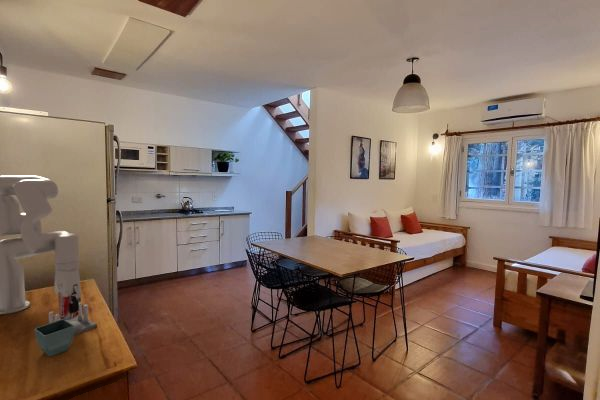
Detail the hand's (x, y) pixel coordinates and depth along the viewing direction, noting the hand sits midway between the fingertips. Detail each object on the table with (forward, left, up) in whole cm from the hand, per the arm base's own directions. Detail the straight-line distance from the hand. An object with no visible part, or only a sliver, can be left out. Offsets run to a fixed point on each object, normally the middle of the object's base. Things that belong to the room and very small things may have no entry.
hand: (69, 309), depth 125 cm
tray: (-1, 0, -8) cm, 8 cm away
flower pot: (+13, -11, -8) cm, 19 cm away
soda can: (0, 0, -3) cm, 3 cm away
